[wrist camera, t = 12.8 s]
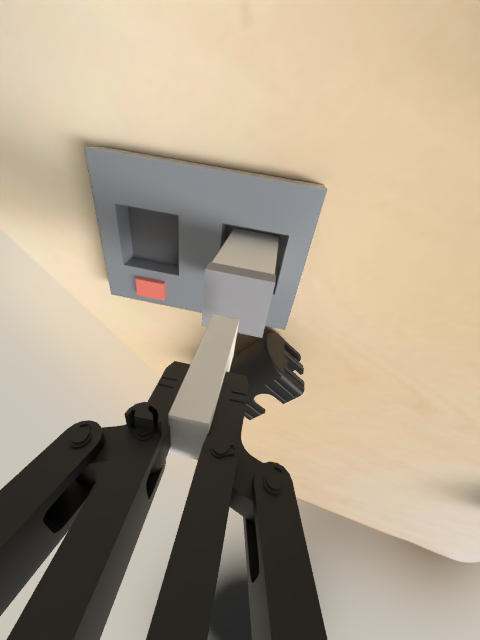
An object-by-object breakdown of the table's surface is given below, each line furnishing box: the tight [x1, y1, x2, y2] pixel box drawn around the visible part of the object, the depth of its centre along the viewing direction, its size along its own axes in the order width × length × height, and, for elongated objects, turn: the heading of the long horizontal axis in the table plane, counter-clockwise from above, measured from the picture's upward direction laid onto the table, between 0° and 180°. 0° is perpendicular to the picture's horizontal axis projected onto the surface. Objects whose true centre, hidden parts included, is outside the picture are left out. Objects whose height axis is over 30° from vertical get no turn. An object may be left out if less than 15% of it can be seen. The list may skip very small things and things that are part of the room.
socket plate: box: [84, 147, 327, 330], centre depth 25 cm, size 14×20×3 cm
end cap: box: [229, 333, 304, 420], centre depth 32 cm, size 10×7×7 cm
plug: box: [202, 228, 279, 338], centre depth 22 cm, size 5×5×10 cm
